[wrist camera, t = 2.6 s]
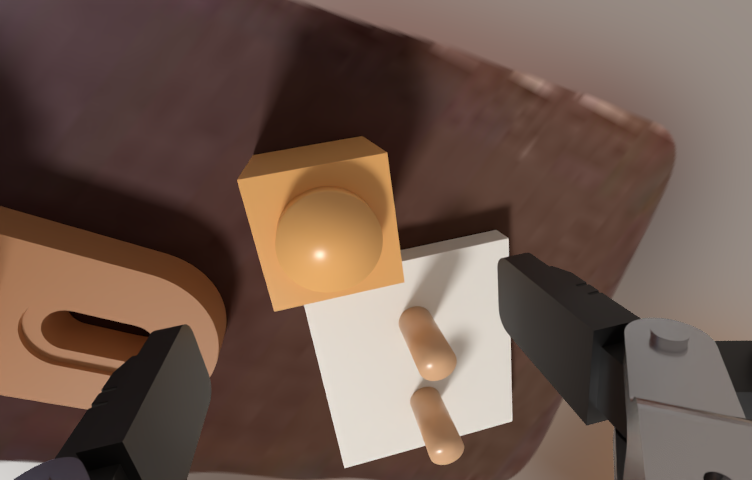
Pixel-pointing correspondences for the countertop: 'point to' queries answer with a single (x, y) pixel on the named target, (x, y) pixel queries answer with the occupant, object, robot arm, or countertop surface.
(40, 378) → the bracket
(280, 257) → the cube with dome top
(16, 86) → the countertop surface
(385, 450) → the plate
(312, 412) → the countertop surface
